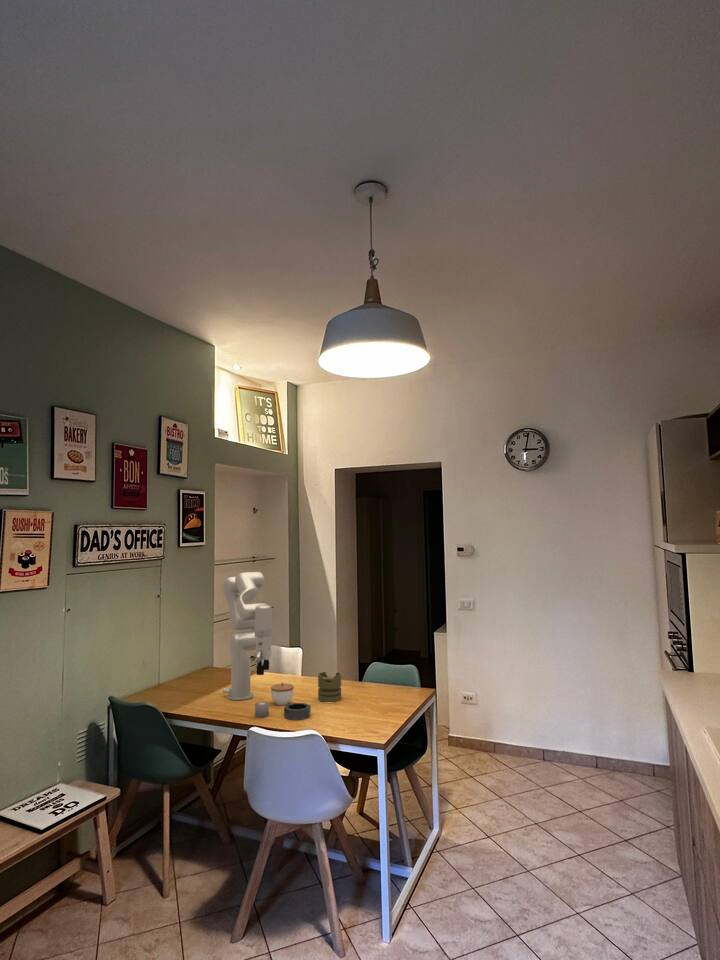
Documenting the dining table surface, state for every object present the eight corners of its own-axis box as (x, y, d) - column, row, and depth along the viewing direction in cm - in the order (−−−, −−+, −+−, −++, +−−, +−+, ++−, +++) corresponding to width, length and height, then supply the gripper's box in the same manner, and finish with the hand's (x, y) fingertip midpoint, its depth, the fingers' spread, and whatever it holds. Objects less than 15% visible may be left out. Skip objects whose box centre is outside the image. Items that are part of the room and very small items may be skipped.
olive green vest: (320, 671, 275) (342, 671, 274) (320, 696, 274) (342, 696, 273) (316, 676, 264) (339, 677, 263) (316, 702, 263) (339, 703, 262)
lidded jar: (296, 700, 267) (296, 680, 268) (289, 707, 256) (289, 686, 257) (275, 699, 269) (275, 679, 270) (267, 705, 258) (267, 685, 259)
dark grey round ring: (282, 719, 238) (282, 710, 238) (287, 711, 249) (287, 702, 249) (307, 720, 237) (307, 710, 237) (311, 712, 248) (311, 703, 248)
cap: (253, 717, 241) (253, 705, 242) (257, 713, 247) (257, 701, 248) (266, 717, 241) (267, 705, 241) (270, 713, 247) (270, 701, 247)
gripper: (266, 636, 239) (266, 676, 237) (275, 630, 256) (275, 668, 254) (249, 636, 240) (249, 676, 238) (259, 630, 257) (259, 667, 255)
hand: (262, 672), depth 246 cm, fingers open, 9 cm apart
